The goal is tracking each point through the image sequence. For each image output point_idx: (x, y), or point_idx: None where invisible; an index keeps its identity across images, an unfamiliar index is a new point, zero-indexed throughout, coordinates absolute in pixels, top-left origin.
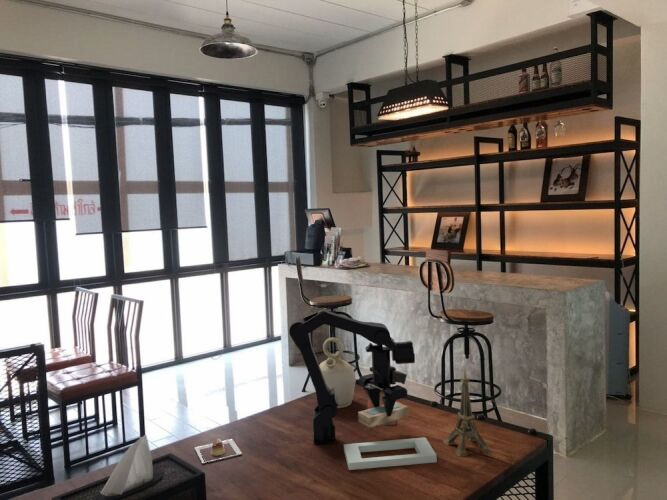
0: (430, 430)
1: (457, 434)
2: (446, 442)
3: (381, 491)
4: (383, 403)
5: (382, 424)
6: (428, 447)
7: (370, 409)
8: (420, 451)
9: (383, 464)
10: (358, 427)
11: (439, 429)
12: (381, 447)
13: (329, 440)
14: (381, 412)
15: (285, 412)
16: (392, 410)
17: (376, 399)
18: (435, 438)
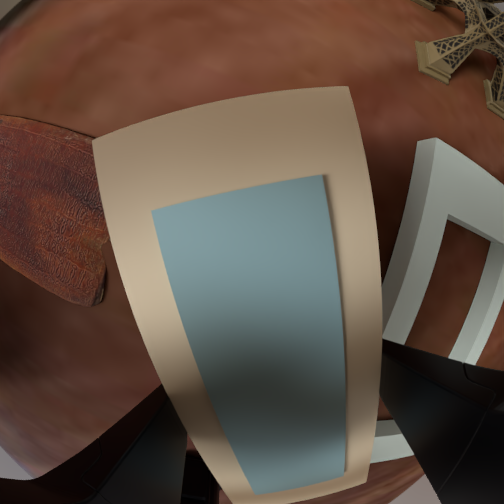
0: (292, 33)
1: (485, 49)
2: (439, 73)
3: None
4: (433, 483)
5: (107, 236)
6: (496, 192)
7: (226, 468)
8: (502, 240)
9: None
10: (106, 354)
11: (299, 2)
12: None
13: None
14: (343, 424)
15: (7, 439)
16: (420, 351)
17: (155, 475)
18: (384, 69)
